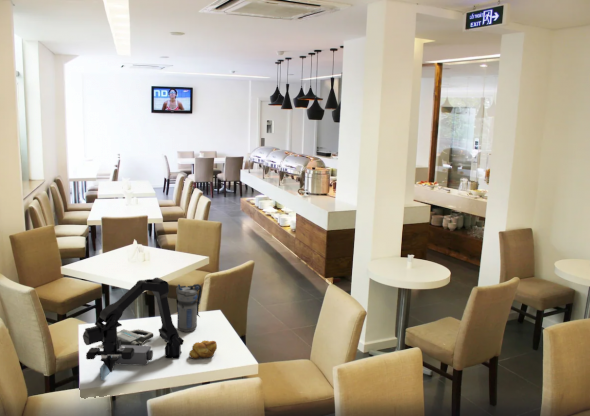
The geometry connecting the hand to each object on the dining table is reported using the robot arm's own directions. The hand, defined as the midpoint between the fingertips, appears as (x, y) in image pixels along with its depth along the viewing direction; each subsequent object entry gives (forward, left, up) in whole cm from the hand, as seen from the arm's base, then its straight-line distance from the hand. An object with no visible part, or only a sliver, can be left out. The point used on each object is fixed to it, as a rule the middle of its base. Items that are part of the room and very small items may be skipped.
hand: (111, 371), depth 214 cm
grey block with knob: (-4, -15, -3) cm, 16 cm away
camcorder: (+3, -34, -3) cm, 34 cm away
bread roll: (-35, -23, -3) cm, 42 cm away
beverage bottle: (-22, -53, -3) cm, 58 cm away
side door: (+3, -4, -2) cm, 5 cm away
